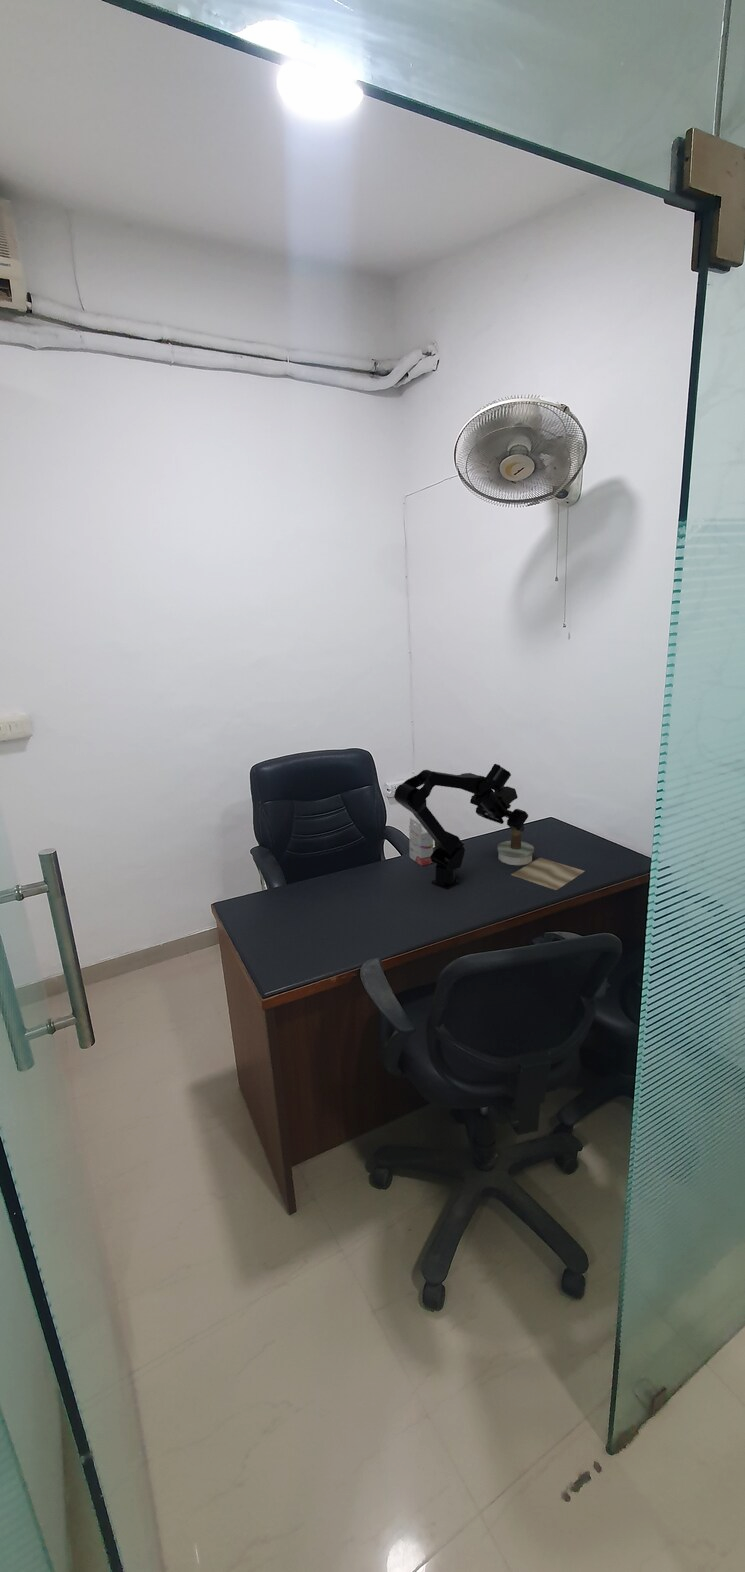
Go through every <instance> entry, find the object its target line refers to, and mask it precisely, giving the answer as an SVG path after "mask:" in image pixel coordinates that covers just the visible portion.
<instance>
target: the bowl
mask: <svg viewBox="0 0 745 1572" xmlns="http://www.w3.org/2000/svg"><path fill="white" fill-rule="evenodd" d="M497 859H498V860H499V861H501V862H502V863H504V864H507V865H511V866H512V865H513V866H524V865H525V866H526V865H528V864H530V863H532V862H533V854H532V855H530V856H528V857H519V858H518V857H509V856H505V855H503V854H501V853H499V852H498V858H497Z"/></svg>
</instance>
